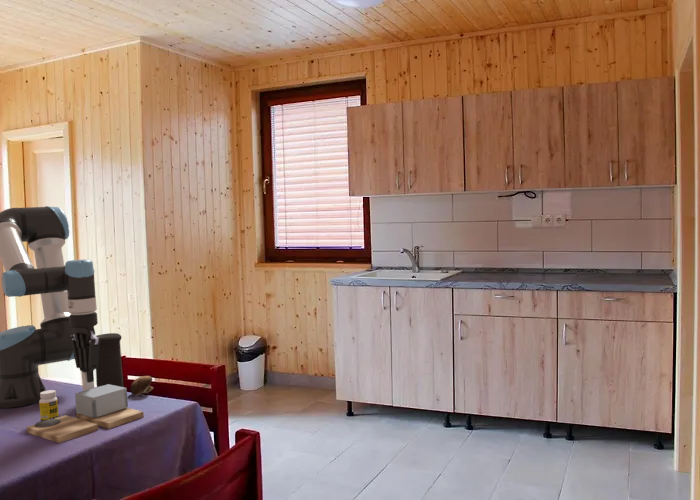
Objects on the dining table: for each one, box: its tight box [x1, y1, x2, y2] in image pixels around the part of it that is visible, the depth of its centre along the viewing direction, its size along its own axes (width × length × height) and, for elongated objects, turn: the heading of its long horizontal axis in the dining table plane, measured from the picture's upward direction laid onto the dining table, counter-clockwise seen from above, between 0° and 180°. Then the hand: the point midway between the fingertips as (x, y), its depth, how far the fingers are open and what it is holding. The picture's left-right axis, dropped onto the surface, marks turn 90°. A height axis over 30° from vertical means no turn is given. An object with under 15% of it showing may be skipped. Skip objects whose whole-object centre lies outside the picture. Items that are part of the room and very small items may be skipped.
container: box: [95, 332, 125, 388], centre depth 202 cm, size 9×9×20 cm
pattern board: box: [75, 407, 145, 430], centre depth 179 cm, size 16×11×4 cm
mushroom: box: [130, 375, 155, 396], centre depth 202 cm, size 8×8×6 cm
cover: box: [74, 384, 129, 418], centre depth 180 cm, size 9×11×6 cm
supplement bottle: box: [38, 389, 60, 421], centre depth 179 cm, size 5×5×8 cm
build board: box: [26, 415, 99, 444], centre depth 170 cm, size 17×11×2 cm, turn 54°
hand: (89, 392), depth 184 cm, fingers closed
